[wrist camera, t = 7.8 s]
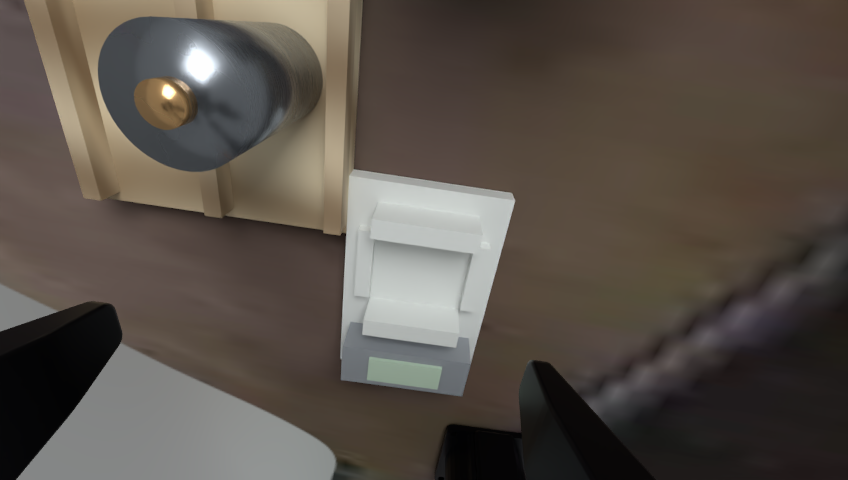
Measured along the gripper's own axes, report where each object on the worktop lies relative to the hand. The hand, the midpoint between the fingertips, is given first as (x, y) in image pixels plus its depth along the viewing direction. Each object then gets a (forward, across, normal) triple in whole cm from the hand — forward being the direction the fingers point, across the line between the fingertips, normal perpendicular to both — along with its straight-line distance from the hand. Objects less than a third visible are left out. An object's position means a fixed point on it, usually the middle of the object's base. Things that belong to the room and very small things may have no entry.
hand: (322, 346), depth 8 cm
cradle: (+12, -2, +6) cm, 14 cm away
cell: (+11, +5, -4) cm, 13 cm away
